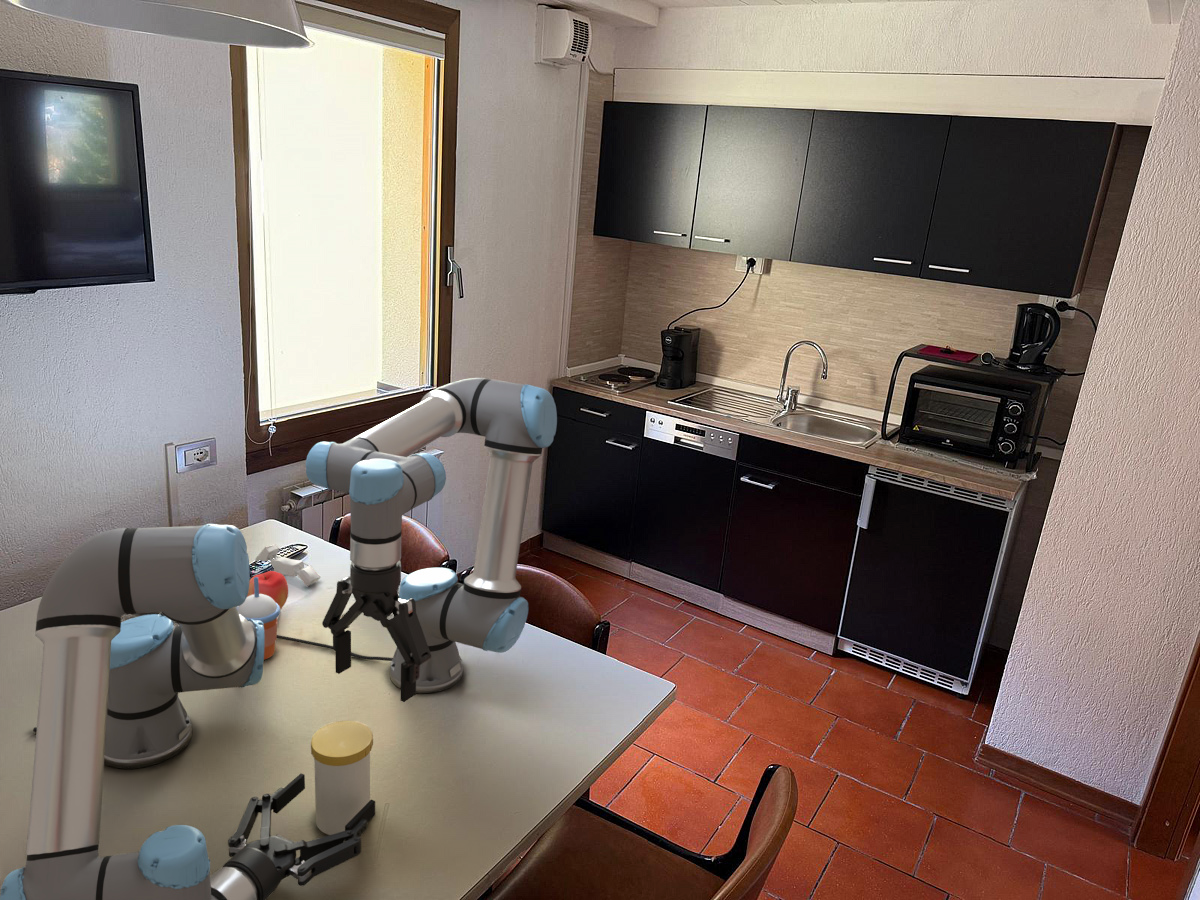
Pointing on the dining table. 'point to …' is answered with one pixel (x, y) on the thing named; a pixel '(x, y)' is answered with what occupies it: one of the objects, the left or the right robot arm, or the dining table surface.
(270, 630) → the cup with straw
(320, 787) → the jar
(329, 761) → the lid
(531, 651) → the dining table surface
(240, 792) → the dining table surface
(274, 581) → the apple
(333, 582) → the dining table surface
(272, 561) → the white angular piece
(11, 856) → the dining table surface
